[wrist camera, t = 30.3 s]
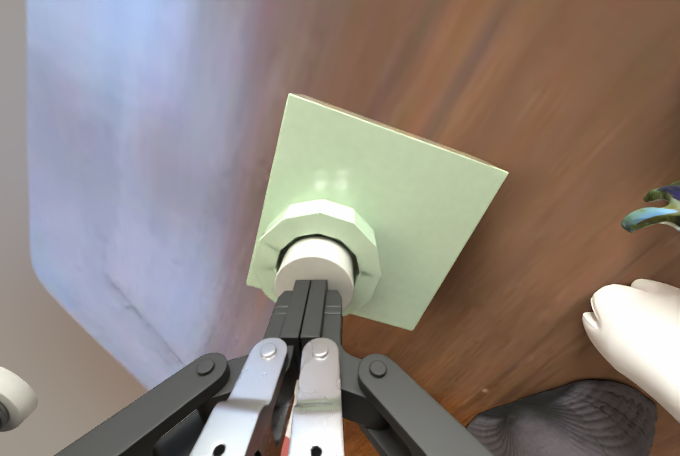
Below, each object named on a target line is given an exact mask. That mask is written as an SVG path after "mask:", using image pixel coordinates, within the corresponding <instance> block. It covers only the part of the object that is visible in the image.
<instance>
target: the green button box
mask: <svg viewBox="0 0 680 456" xmlns="http://www.w3.org/2000/svg"><path fill="white" fill-rule="evenodd" d="M507 175H508V172H507V171H505V170H503V169H500V168H498V167H496V166H494V165H492V164H490V163H488V162H485V161H483V160H481V159H479V158H477V157H474V156H471V155H469V154H466V153H463V152H460V151H458V150H455V149H452V148H449V147H446V146H444V145H441V144H438V143H435V142H433V141H430V140H427V139H424V138H422V137H419V136H416V135H413V134H411V133H408V132H405V131H402V130H399V129H397V128H394V127H391V126H388V125H386V124H383V123H380V122H377V121H375V120H372V119H369V118H366V117H363V116H361V115H358V114H355V113H352V112H350V111H347V110H344V109H341V108H339V107H336V106H333V105H330V104H327V103H325V102H322V101H319V100H316V99H314V98H311V97H308V96H305V95H303V94H288V98H287V103H286V107H285V112H284V116H283V121H282V125H281V130H280V134H279V139H278V143H277V148H276V152H275V157H274V161H273V166H272V170H271V175H270V179H269V184H268V188H267V193H266V197H265V202H264V206H263V211H262V215H261V220H260V224H259V229H258V233H257V238H256V242H255V247H254V251H253V256H252V260H251V265H250V269H249V274H248V278H247V283H246V285H249V286H252V287H256V288H260V289H262V290H263V292H264V294H265V295H266V296H268V297H269V298H270V299H271V300H273V301H274V302H275V303H276V302H277V296H276V294H275V289H274V281H275V277H276V274H277V272H278V270H279V267H280V265H281V262H282V260H283V257H284V255H285V253H286V251H287V250H288V249H289V247H290V246H291V245H293V244H294V243H295V242H297V241H299V240H301V239H304V238H308V237H325V238H329V239H332V240H334V241H336V242H338V243H339V244H341V245H342V246H343V247H344V248H345V249H346V250H347V251H348V253H349V254H350V256H351V258H352V261H353V266H354V295H353V298H352V301H351V303H350V304H349V306H348V307H347V308H346V309H345V310H344V311H343V312H342V316H345V315H346V316H347V315H348V314H353V315H357V316H360V317H364V318H368V319H371V320H375V321H378V322H382V323H386V324H389V325H393V326H396V327H400V328H404V329H407V330H411V331H413V329H414V328H415V326H416V325H417V323H418V321H419V320H420V318H421V316H422V315H423V313H424V311H425V310H426V308H427V306H428V305H429V303H430V302H431V300H432V298H433V297H434V295H435V293H436V292H437V290H438V288H439V287H440V285H441V283H442V282H443V280H444V279H445V277H446V275H447V274H448V272H449V270H450V269H451V267H452V265H453V264H454V262H455V260H456V259H457V257H458V255H459V254H460V252H461V251H462V249H463V247H464V246H465V244H466V242H467V241H468V239H469V237H470V236H471V234H472V232H473V231H474V229H475V228H476V226H477V224H478V223H479V221H480V219H481V218H482V216H483V214H484V213H485V211H486V209H487V208H488V206H489V204H490V203H491V201H492V200H493V198H494V196H495V195H496V193H497V191H498V190H499V188H500V186H501V185H502V183H503V181H504V180H505V178H506V177H507Z"/></svg>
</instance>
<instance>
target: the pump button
mask: <svg viewBox="0 0 680 456" xmlns="http://www.w3.org/2000/svg"><path fill="white" fill-rule="evenodd" d="M296 280H311V281H312V280H327V281H328V290H338V292H339V293H340V295H341V297H342V312H343V311H344V310H345V309H346V308H347V307H348V306H349V304H350V303H351V301H352V298H353V295H354V266H353V261H352V258H351V256H350V254H349V253H348V251H347V250H346V249H345V248H344V247H343V246H342V245H341V244H339V243H338V242H336V241H334V240H332V239H329V238H325V237H308V238H304V239H301V240H299V241H297V242H295V243H294V244H293V245H291V246H290V247H289V249H288V250H287V251H286V253H285V255H284V257H283V260H282V262H281V265H280V267H279V270H278V272H277V274H276V277H275V281H274V289H275V294H276V296H277V299H278V297H279V296H280V295H281V294H282V293H283V292H284V291H293V288H294V284H295V281H296Z"/></svg>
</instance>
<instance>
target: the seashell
mask: <svg viewBox="0 0 680 456" xmlns="http://www.w3.org/2000/svg"><path fill="white" fill-rule="evenodd" d="M656 421H657V411H656V407H655V404H654V403H653V402H652V401H651V400H650V399H648V398H646V397H645V396H644V395H643V394H641V393H640V392H639V391H638V390H635V389H633V388H632V387H630V386H627V385H624V384H620V383H616V382H613V381H597V380H584V381H577V382H573V383H571V384H569V385H565V386H562V387H560V388H557V389H554V390H548V391H545V392H542V393H539V394H537V395H532V396H530V397H526V398H523V399H521V400H518V401H515V402H513V403H508V404H505V405H502V406H499V407H496V408H493V409H491V410H488V411H485V412H482V413H479V414H478V415H477V416H476V417H474V419H473V420H472V421H471V423H470V424H469V426H468V427H466V429H467V430H468V431H469V432H470V433H471V434H472V435H473V436H474V437H475V438H476V439H477V440H478V441H479V442H481V443H482V444H483V445H484V446H485V447H486V448H487V449H488V450H489V451H490V452H491V453H492V454H493V455H494V456H649V449H650V447H652V444H653V439H654V435H655V423H656Z"/></svg>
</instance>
